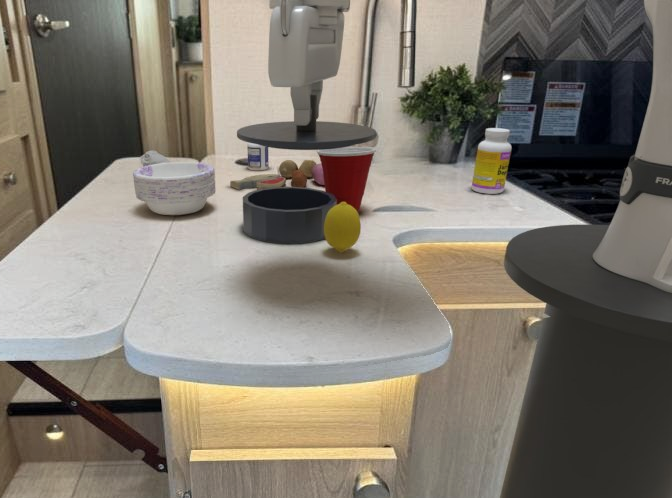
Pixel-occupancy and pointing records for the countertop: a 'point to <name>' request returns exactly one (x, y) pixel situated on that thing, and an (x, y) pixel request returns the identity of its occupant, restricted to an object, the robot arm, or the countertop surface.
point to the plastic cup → (346, 172)
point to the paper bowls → (175, 186)
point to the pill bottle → (257, 157)
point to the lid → (306, 134)
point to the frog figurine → (152, 158)
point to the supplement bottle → (492, 162)
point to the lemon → (342, 227)
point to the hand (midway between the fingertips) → (306, 122)
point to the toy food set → (284, 176)
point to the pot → (286, 214)
